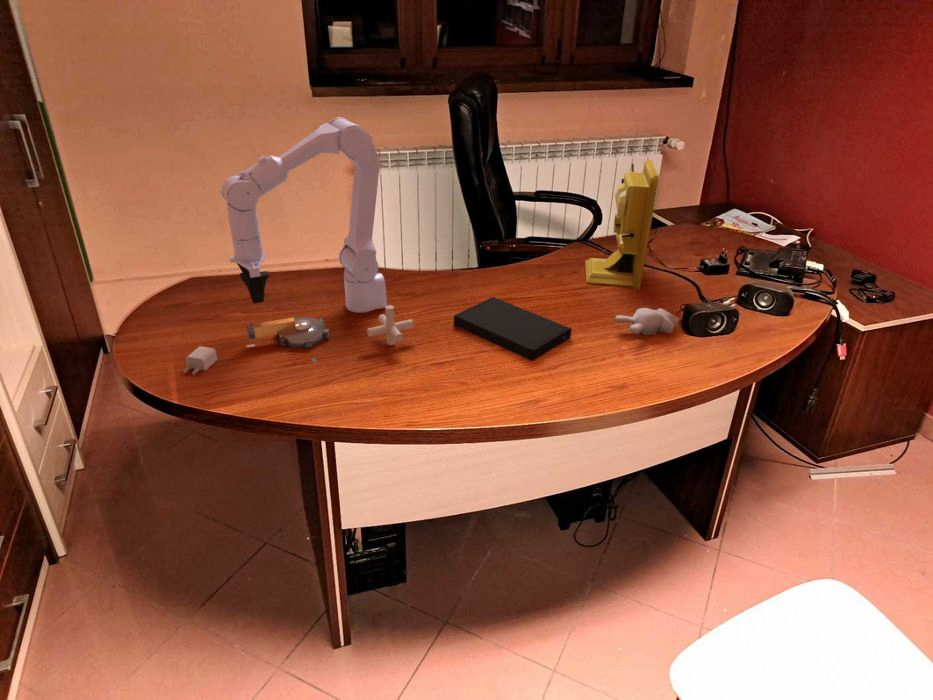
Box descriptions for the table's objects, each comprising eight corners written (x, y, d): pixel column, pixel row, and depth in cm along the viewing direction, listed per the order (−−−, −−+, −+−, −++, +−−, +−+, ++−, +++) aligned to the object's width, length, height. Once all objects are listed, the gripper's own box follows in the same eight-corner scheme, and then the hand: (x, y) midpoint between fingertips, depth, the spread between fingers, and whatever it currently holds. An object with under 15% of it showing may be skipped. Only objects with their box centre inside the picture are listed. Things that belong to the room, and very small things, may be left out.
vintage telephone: (584, 250, 195) (596, 148, 179) (631, 253, 193) (648, 151, 178) (586, 294, 168) (601, 179, 153) (641, 298, 166) (661, 182, 151)
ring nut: (321, 320, 149) (319, 303, 147) (333, 343, 140) (332, 325, 138) (245, 333, 143) (242, 315, 141) (253, 358, 134) (250, 339, 132)
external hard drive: (493, 307, 161) (493, 296, 159) (570, 339, 147) (571, 328, 146) (453, 326, 152) (453, 315, 150) (532, 362, 138) (533, 350, 137)
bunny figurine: (689, 317, 149) (640, 323, 142) (683, 337, 151) (634, 344, 144) (661, 301, 156) (613, 306, 149) (655, 320, 158) (608, 326, 152)
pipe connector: (378, 363, 136) (375, 321, 131) (361, 342, 143) (359, 302, 138) (421, 353, 140) (421, 312, 135) (403, 333, 147) (402, 293, 142)
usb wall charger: (218, 365, 134) (215, 348, 132) (199, 382, 128) (195, 365, 126) (201, 362, 135) (197, 345, 133) (181, 380, 129) (177, 362, 127)
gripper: (222, 227, 139) (232, 284, 146) (229, 250, 127) (240, 312, 134) (256, 223, 141) (265, 280, 148) (266, 245, 130) (275, 306, 137)
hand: (255, 295), depth 141 cm, fingers open, 7 cm apart
